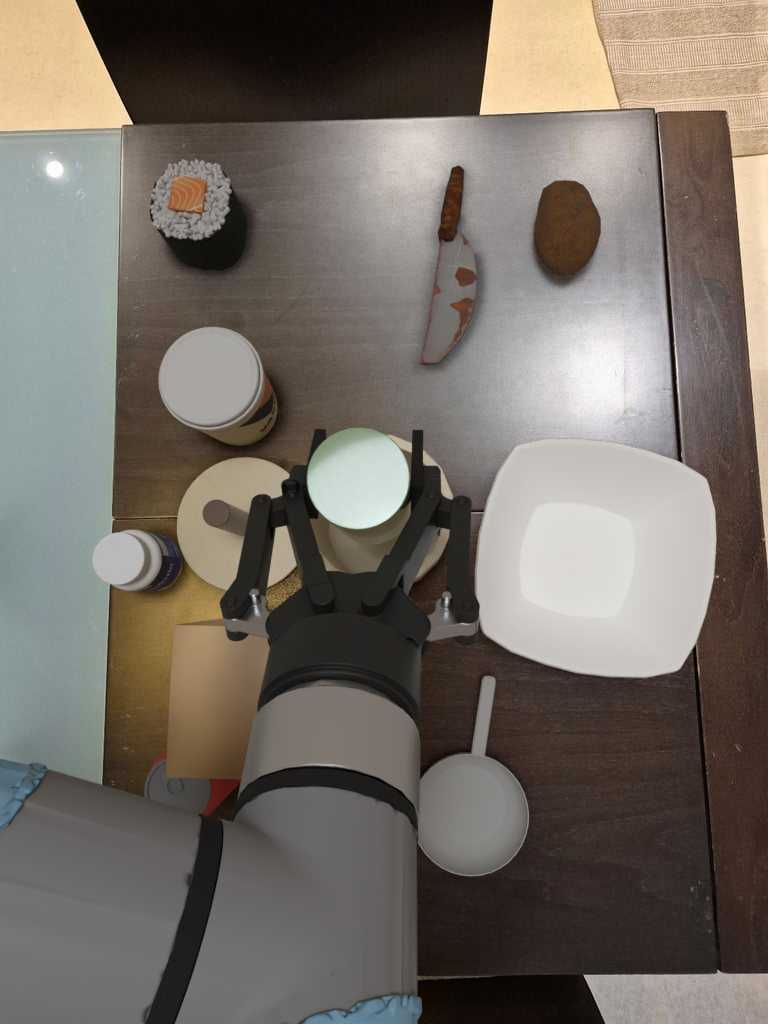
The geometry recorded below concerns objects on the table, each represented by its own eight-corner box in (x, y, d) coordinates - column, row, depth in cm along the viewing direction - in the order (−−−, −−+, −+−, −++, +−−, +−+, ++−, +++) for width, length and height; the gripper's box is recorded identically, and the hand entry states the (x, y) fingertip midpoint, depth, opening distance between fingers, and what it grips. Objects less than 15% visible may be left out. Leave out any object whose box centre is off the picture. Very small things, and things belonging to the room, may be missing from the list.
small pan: (403, 851, 70) (402, 865, 66) (431, 662, 72) (432, 666, 68) (515, 871, 70) (520, 887, 66) (541, 681, 71) (548, 685, 68)
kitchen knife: (465, 369, 75) (416, 360, 74) (462, 373, 76) (415, 364, 76) (497, 171, 76) (450, 161, 76) (494, 179, 78) (448, 169, 77)
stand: (248, 716, 72) (165, 777, 49) (252, 614, 74) (172, 624, 50) (349, 719, 72) (315, 782, 48) (352, 616, 73) (319, 627, 49)
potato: (587, 193, 77) (602, 158, 70) (600, 282, 76) (616, 255, 69) (524, 201, 77) (533, 167, 71) (536, 290, 76) (546, 263, 70)
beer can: (218, 709, 73) (179, 732, 61) (264, 758, 72) (233, 791, 60) (170, 757, 72) (121, 789, 60) (215, 807, 72) (174, 849, 60)
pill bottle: (153, 603, 74) (112, 604, 64) (118, 560, 75) (72, 555, 65) (196, 565, 74) (162, 561, 64) (161, 523, 75) (122, 512, 65)
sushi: (167, 268, 78) (139, 231, 70) (180, 194, 79) (154, 149, 71) (241, 276, 78) (221, 240, 70) (254, 202, 78) (235, 158, 70)
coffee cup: (284, 454, 75) (259, 428, 63) (194, 453, 76) (152, 427, 64) (287, 365, 76) (262, 323, 64) (198, 365, 77) (157, 323, 65)
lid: (177, 591, 74) (134, 590, 63) (183, 458, 76) (142, 435, 65) (310, 593, 73) (291, 593, 62) (314, 459, 75) (296, 436, 64)
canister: (330, 543, 54) (304, 529, 42) (332, 463, 55) (307, 426, 43) (411, 544, 54) (409, 530, 42) (412, 464, 54) (410, 427, 42)
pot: (319, 588, 73) (295, 587, 59) (323, 464, 75) (300, 433, 60) (446, 591, 73) (452, 590, 58) (447, 465, 74) (453, 435, 60)
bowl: (489, 440, 74) (498, 421, 66) (695, 476, 73) (732, 461, 64) (453, 643, 72) (458, 650, 64) (664, 684, 71) (698, 697, 62)
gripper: (149, 768, 36) (242, 487, 54) (540, 780, 35) (502, 490, 53) (110, 669, 31) (226, 398, 49) (560, 679, 30) (511, 399, 48)
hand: (369, 446), depth 51 cm, fingers closed on canister, 6 cm apart
